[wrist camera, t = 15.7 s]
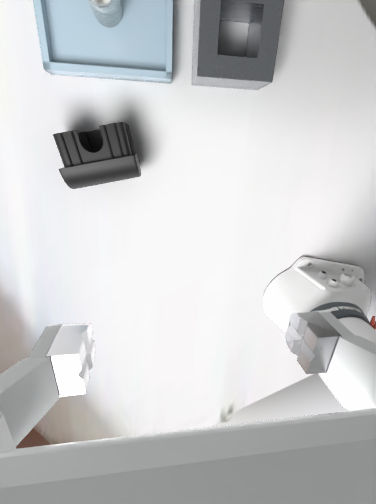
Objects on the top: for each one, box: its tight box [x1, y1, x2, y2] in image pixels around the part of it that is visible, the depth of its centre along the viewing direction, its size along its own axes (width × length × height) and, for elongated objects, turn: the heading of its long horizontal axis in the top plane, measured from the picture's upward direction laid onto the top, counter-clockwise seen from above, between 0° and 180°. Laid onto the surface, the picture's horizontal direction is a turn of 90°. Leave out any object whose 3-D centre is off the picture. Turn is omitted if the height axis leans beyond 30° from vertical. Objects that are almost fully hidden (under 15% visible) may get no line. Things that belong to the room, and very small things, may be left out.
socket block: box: [192, 0, 284, 90], centre depth 32 cm, size 10×10×5 cm
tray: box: [33, 0, 173, 83], centre depth 30 cm, size 16×14×2 cm
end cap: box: [53, 122, 141, 189], centre depth 35 cm, size 10×7×7 cm
